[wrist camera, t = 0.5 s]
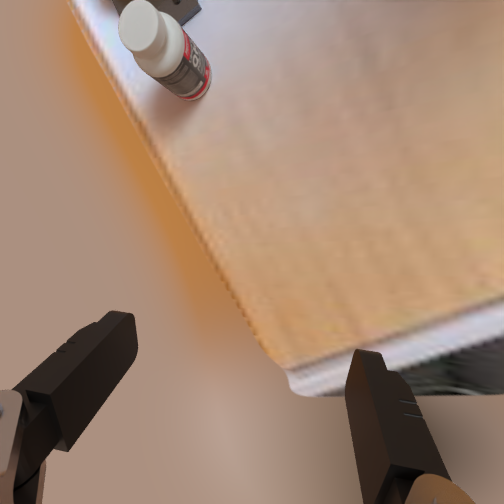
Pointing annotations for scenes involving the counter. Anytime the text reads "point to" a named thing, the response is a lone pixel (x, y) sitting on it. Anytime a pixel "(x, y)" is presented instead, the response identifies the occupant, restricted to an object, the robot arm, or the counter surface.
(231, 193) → the counter surface
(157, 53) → the pill bottle
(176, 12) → the octagonal bottle holder
